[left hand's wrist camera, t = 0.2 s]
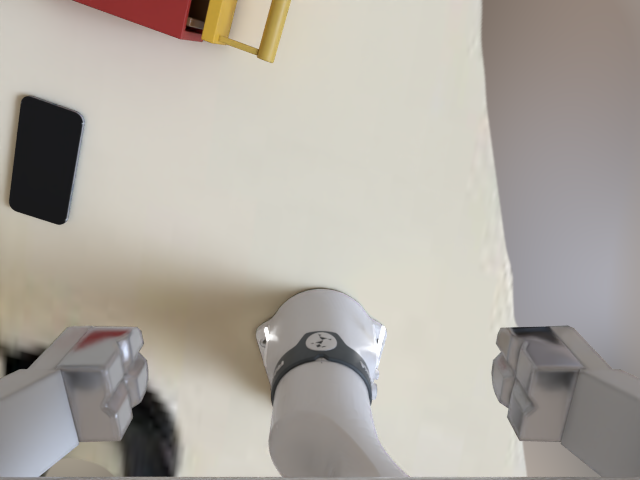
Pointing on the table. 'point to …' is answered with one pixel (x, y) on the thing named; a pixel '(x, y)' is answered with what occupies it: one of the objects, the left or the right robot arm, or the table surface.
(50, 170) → the smartphone
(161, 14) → the red open box
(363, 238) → the table surface
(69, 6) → the table surface
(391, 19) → the table surface
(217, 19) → the drawer
